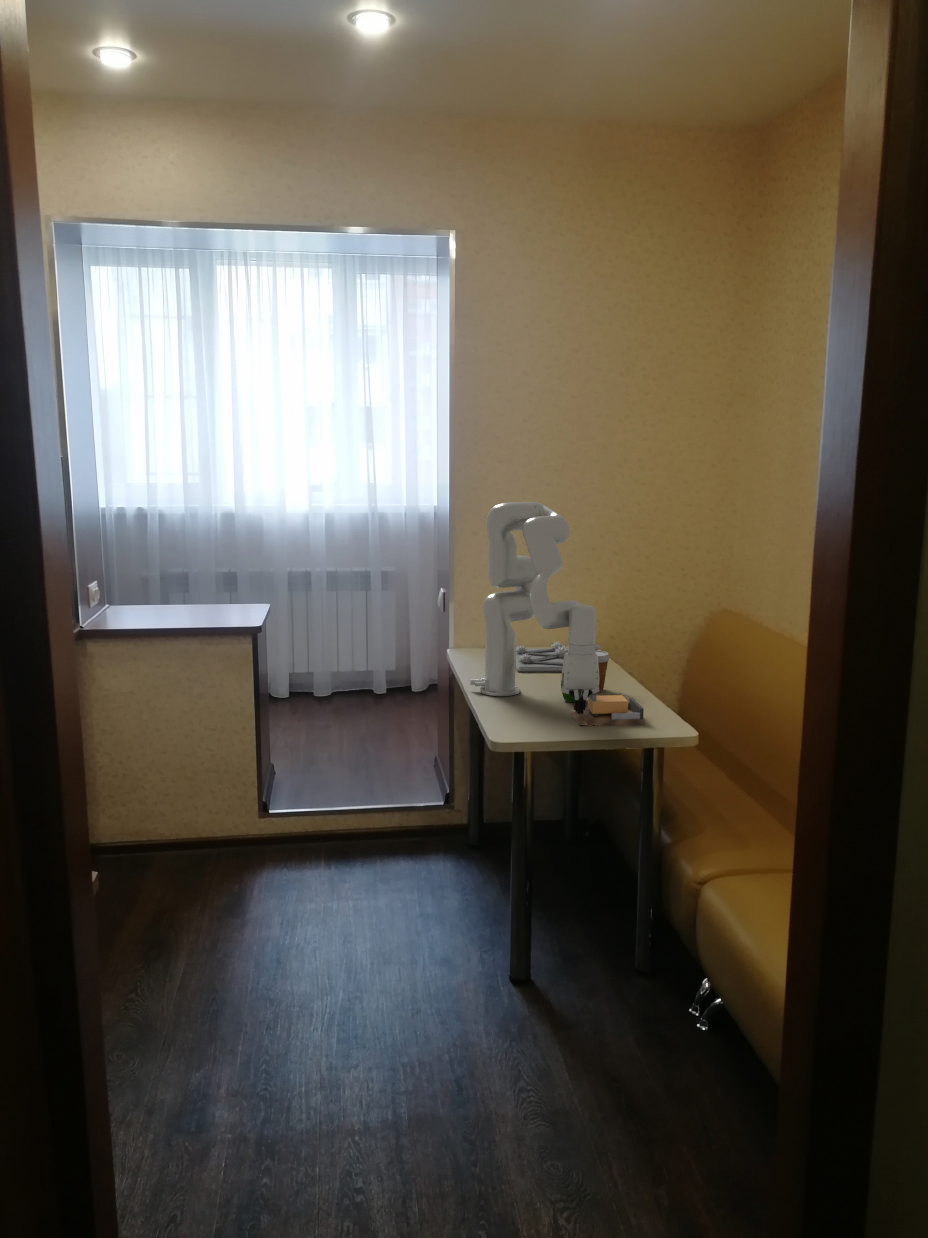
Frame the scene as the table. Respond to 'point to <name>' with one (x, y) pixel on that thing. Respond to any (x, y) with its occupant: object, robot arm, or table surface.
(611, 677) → the table surface
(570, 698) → the bell pepper
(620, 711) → the orange block
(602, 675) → the disposable coffee cup
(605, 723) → the loading dock
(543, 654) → the decorative plate
